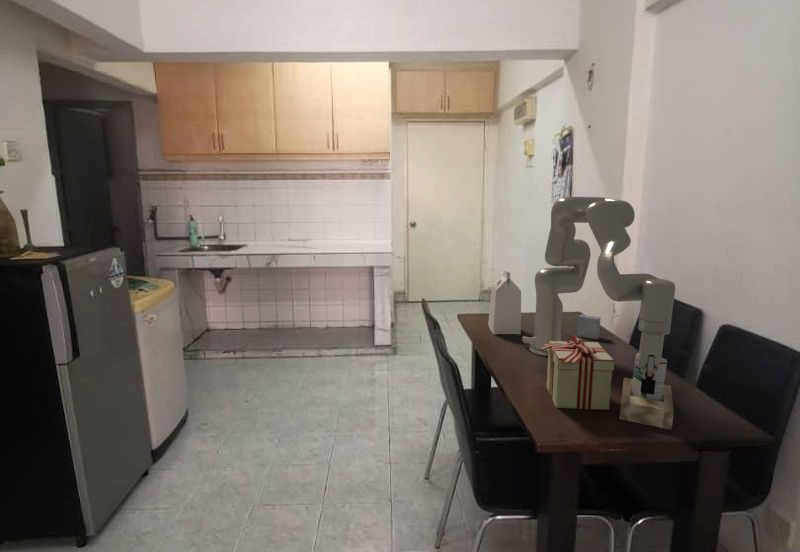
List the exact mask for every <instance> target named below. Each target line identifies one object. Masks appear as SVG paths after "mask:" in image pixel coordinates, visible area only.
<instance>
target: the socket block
mask: <svg viewBox="0 0 800 552" xmlns="http://www.w3.org/2000/svg"><path fill="white" fill-rule="evenodd" d="M632 382H633V378H630V377H623V384H622V391H621V392H622V393H621V399H620V400H621V401H620V409H619V420H623V421H626V422H633V423H638V424H642V425H645V426H646V425H647V426H651V427H656V428H660V429H664V430H670V431H672V428H673V421H674V412H675V411H674V402H673V395H672V394H673V393H672V385H670V384H665V383H664V388H663V395H662V402H661V401H656V400H651V399H645V398H640V397H635V396H631V390H632Z"/></svg>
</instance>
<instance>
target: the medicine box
mask: <svg viewBox="0 0 800 552" xmlns="http://www.w3.org/2000/svg"><path fill="white" fill-rule="evenodd" d="M600 328H601V316H595V315H589V314H580V315H579V316H578V321H577V333H576V335H577V336H576V337H577V338H585V339H590V340H591V339H593V340H598V339H599V337H600V331H601V330H600Z"/></svg>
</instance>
